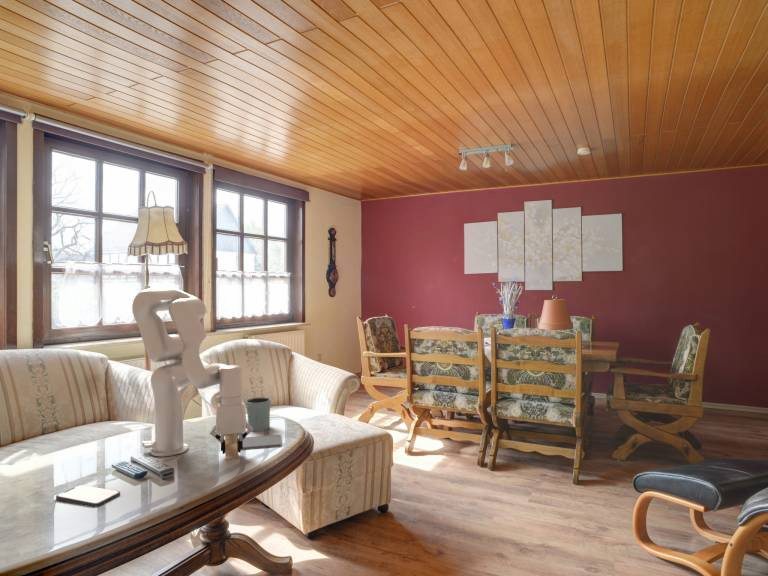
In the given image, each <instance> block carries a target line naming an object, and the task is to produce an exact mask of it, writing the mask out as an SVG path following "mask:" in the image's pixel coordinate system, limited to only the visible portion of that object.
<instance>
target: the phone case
mask: <svg viewBox="0 0 768 576" xmlns="http://www.w3.org/2000/svg"><path fill="white" fill-rule="evenodd" d="M118 497H121V491H119V490H116V489H115V490H114V489H108V488H104V487H97V486H92V485H86V484H79V485H76V486H75V487H71V488H70V489H67V490H65V491H63V492H61V493H58V494H57V495H55V500H56V501H57V502H63V503H69V504H73V503H74V504H75V505H81V506H85V505H87V506H86V507H91V506H92V507H93V508H95V506H98V507H100V505H101V506H102V504H103V505H104V503H105V504H106V503H108V502H110V501H113V500H114V499H116V498H118ZM74 504H73V505H74Z"/></svg>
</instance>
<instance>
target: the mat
mask: <svg viewBox="0 0 768 576" xmlns="http://www.w3.org/2000/svg"><path fill="white" fill-rule="evenodd" d="M238 440H239V437H238ZM276 446H279V447H282V434H271V435H258V436H257V435H256V436H246V437H245V438H244V439H243V450H251V449H250V448H255V449H264V448H263V447H267V448H276Z"/></svg>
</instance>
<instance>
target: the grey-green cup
mask: <svg viewBox="0 0 768 576" xmlns="http://www.w3.org/2000/svg"><path fill="white" fill-rule="evenodd" d="M271 400H272V399H271V398H270V397H262V396H261V397H251V398H248V399H246V401H245V404H246V405H245V406H246V413H247V414H246V415H247V423H248V424H249V425H250V426H251V428H252V429H253V430H252V432H263V431H262V430H264V431H267V430H269V429H270V424H271V423H270V419H271V418H270V417H271V414H270V413H271V403H272V401H271ZM268 428H269V429H268ZM266 429H267V430H266Z"/></svg>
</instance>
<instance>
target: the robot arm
mask: <svg viewBox="0 0 768 576" xmlns="http://www.w3.org/2000/svg"><path fill="white" fill-rule="evenodd" d="M131 307H132V308H131V310H132V315H133V318H134V320H135V322H136V324H137V326H138V329H139V332H140V336H141V339H142V342H143V343H142V344H143V345H144V349H145V352H146V355H147V357H148V360H149V361H151V362H152V363H155V364H157V363H158V364H160V363H164V362H169V363H170V364H165V365H162V366H159V367H156V369H155V370H153V372H152V374H151V377H150V385H151V389H152V393H153V394H152V395H153V405H154V406H153V407H154V408H153V409H154V439H152V441H151V440H146V441H145V440H144V441H142V447H143V448H144V449H149V448H151V450H150V454H151V456H154V457H161V458H162V457H163V458H165V457H171V456H176V455H179V454H183V453H185V452H186V451H188V450H189V445H188V444H187V443H185V442H184V411H183V409H184V407H183V398H182V395H181V394H180V390H179V389H181V388H183V387H187V386H189V385H191V386H193V387H194V388H196V389H199V390H204V389H207V388H210V387H212V386H216V385H218V386H219V389H218V390H219V391H218V392H219V396H218V397H217V398H215V399H214V402H215V403H218V405H217V406H216V412H215V416H216V417H215V425H214V426H213V428H212V429H211V430H210V432H209V435H211V436H212V437H214V438H215V439H216V440H217V441H218V442H219V443H220V451H221V452H222V455H225V435H230V434H238V438H239V440H238V454H239V453H240V454H241V452H242V450H241V449H243V439H244V438H245V437H248V435H249V434H251V433H252V432H253V431H252V430H253V429H252V428H251V426H250V425H249V424H248V421H247V414H246V413H247V411H246V407H245V406H246V405H245V403H244V402H243V389H242V387H243V385H242V383H243V381H242V380H243V379H242V368H241V366H240V365H237V364H224V363H218V362H216V363H215V362H214V363H211V364H206V365H204V364H203V362H202V359H201V357H200V347H201V344H202V343H203V341H204V340H205V339H206V337H207V332H206V330H205V328H204V326H203V324H202V322H201V319H203V318H204V316H205V315H206V312H207V309H206V305H205V303H204V301H203V300H202V299H200V298H198V297H196V296H194V295H192V294H189V293H187V292H185V291H182V290H180V289H178V288H174V287H161V288H160V287H158V288H157V287H155V288H154V287H153V288H146V289H144V290H141V291H139V292H138V293H137V294H136V295H135V297H134V298H133V300H132V305H131ZM163 311H168V314H169V316H170V319H171V321H172V323H173V325H174V327H175V329H176V331H177V334H169V333H168V331H167V328H166V325H165V323H164V321H163V319H162V318H161V317H160V316H159V315H158V312H163ZM243 450H244V449H243Z"/></svg>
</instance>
